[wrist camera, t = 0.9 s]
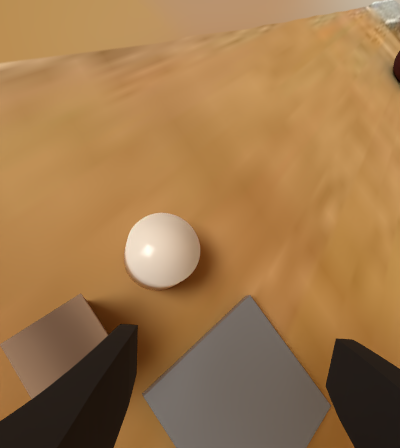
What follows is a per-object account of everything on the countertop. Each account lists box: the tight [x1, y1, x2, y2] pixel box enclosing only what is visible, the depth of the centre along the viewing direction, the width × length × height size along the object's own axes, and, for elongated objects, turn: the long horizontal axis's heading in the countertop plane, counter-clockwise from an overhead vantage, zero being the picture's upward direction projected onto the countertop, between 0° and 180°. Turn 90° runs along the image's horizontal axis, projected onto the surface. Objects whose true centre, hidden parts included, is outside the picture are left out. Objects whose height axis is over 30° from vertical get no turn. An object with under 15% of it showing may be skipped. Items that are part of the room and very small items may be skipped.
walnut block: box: [0, 294, 108, 399], centre depth 16 cm, size 4×4×5 cm
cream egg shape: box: [124, 213, 200, 291], centre depth 22 cm, size 6×6×4 cm
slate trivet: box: [142, 295, 331, 448], centre depth 21 cm, size 12×12×1 cm
